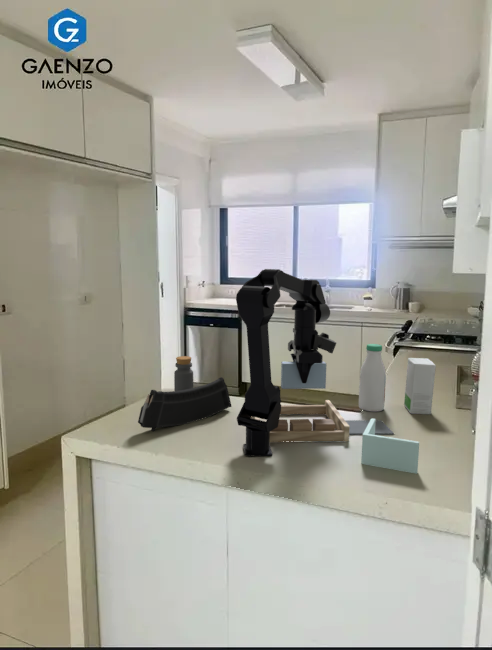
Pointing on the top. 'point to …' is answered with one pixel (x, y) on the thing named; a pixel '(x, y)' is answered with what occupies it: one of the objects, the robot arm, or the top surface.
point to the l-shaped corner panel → (389, 451)
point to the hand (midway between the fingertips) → (303, 381)
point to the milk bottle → (372, 380)
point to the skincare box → (419, 385)
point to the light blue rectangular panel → (293, 380)
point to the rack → (336, 435)
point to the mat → (360, 425)
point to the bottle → (183, 374)
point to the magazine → (184, 405)
